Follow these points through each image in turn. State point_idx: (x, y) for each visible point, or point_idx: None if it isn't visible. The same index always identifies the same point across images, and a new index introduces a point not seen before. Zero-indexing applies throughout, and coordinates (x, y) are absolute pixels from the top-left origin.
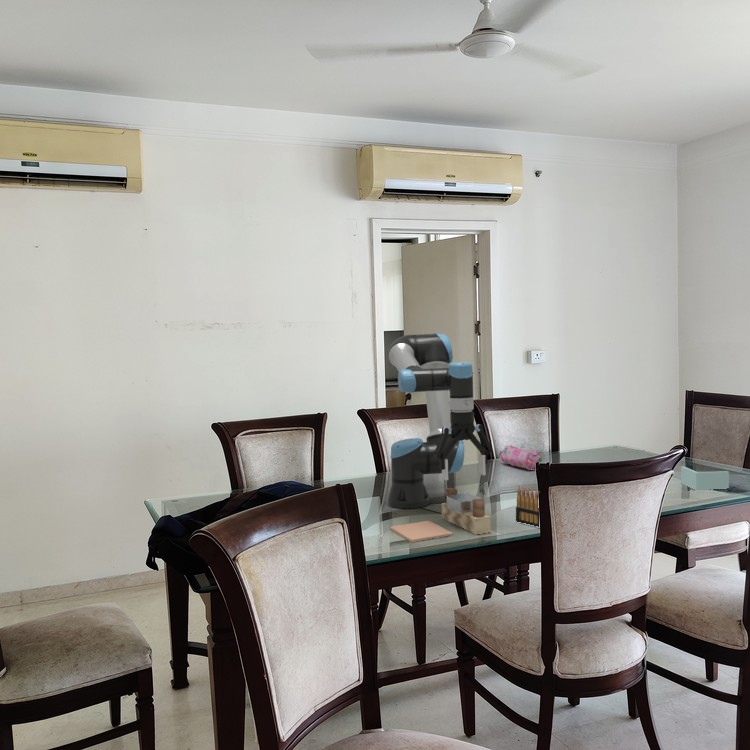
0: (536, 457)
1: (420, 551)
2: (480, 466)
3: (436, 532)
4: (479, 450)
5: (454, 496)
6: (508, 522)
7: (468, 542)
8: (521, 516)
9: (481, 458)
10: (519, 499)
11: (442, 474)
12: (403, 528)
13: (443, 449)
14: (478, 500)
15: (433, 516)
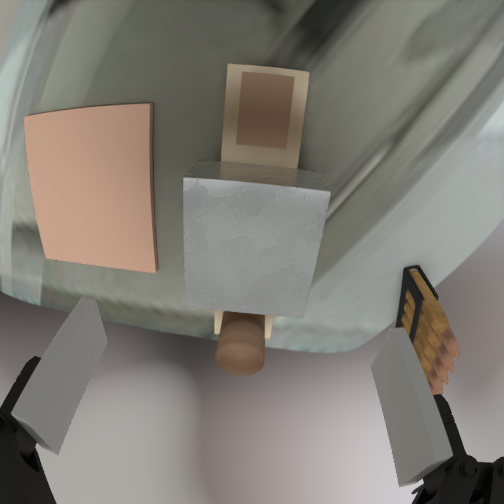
0: None
1: (59, 308)
2: (399, 387)
3: (115, 242)
4: (431, 500)
5: (216, 209)
6: (388, 258)
7: (171, 326)
8: (410, 298)
9: (405, 453)
10: (433, 328)
11: (69, 323)
12: (47, 153)
13: (1, 493)
14: (235, 365)
15: (219, 29)
